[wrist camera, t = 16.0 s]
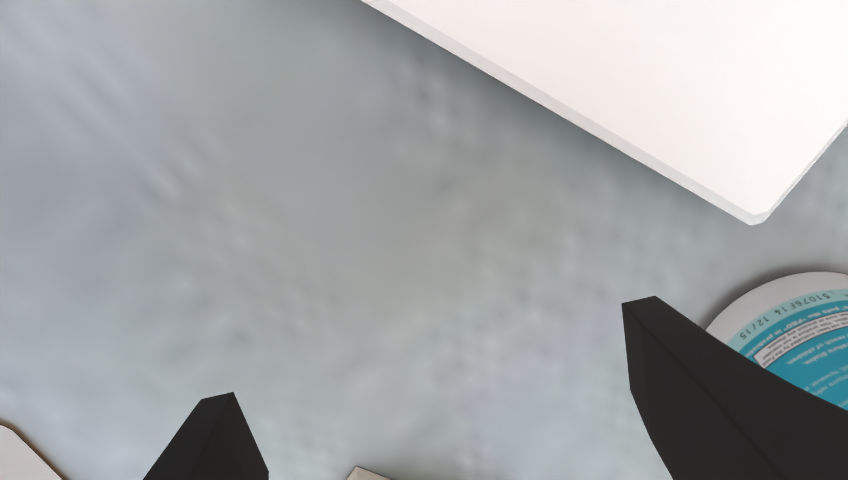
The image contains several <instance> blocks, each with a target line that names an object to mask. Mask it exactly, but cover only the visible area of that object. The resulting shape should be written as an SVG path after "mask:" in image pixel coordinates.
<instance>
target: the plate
mask: <svg viewBox="0 0 848 480" xmlns="http://www.w3.org/2000/svg"><path fill="white" fill-rule="evenodd" d="M361 1H363V2H365V3H367V4H368V5H370V6H372V7H374V8H375V9H377V10H379V11H380V12H382V13H384V14H386V15H387V16H389V17H391V18H393V19H394V20H396V21H398V22H399V23H401V24H403V25H405V26H406V27H408V28H410V29H411V30H413V31H415V32H417V33H418V34H420V35H422V36H424V37H425V38H427V39H429V40H430V41H432V42H434V43H436V44H437V45H439V46H441V47H443V48H444V49H446V50H448V51H449V52H451V53H453V54H455V55H456V56H458V57H460V58H462V59H463V60H465V61H467V62H468V63H470V64H472V65H474V66H475V67H477V68H479V69H481V70H482V71H484V72H486V73H487V74H489V75H491V76H493V77H494V78H496V79H498V80H499V81H501V82H503V83H505V84H506V85H508V86H510V87H512V88H513V89H515V90H517V91H518V92H520V93H522V94H524V95H525V96H527V97H529V98H531V99H532V100H534V101H536V102H537V103H539V104H541V105H543V106H544V107H546V108H548V109H550V110H551V111H553V112H555V113H556V114H558V115H560V116H562V117H563V118H565V119H567V120H568V121H570V122H572V123H574V124H575V125H577V126H579V127H581V128H582V129H584V130H586V131H587V132H589V133H591V134H593V135H594V136H596V137H598V138H600V139H601V140H603V141H605V142H606V143H608V144H610V145H612V146H613V147H615V148H617V149H619V150H620V151H622V152H624V153H625V154H627V155H629V156H631V157H632V158H634V159H636V160H638V161H639V162H641V163H643V164H644V165H646V166H648V167H650V168H651V169H653V170H655V171H656V172H658V173H660V174H662V175H663V176H665V177H667V178H669V179H670V180H672V181H674V182H675V183H677V184H679V185H681V186H682V187H684V188H686V189H688V190H689V191H691V192H693V193H694V194H696V195H698V196H700V197H701V198H703V199H705V200H707V201H708V202H710V203H712V204H713V205H715V206H717V207H719V208H720V209H722V210H724V211H725V212H727V213H729V214H731V215H732V216H734V217H736V218H738V219H739V220H741V221H743V222H744V223H746V224H748V225H750V226H751V225H755V224H759V223H763V222H764V221H765V220H766V219H767V218H768V217H769V216H770V214H771V213H772V212H773V211H774V210H775V209H776V207H777V206H778V205H779V204H780V203H781V202H782V200H783V199H784V198H785V197H786V196H787V195H788V193H789V192H790V191H791V190H792V189H793V188H794V186H795V185H796V184H797V183H798V182H799V181H800V179H801V178H802V177H803V176H804V175H805V174H806V172H807V171H808V170H809V169H810V168H811V167H812V165H813V164H814V163H815V162H816V161H817V160H818V158H819V157H820V156H821V155H822V154H823V153H824V151H825V150H826V149H827V148H828V147H829V146H830V144H831V143H832V142H833V141H834V140H835V139H836V137H837V136H838V135H839V134H840V133H841V132H842V130H843V129H844V128H845V127H846V126H847V125H848V0H361Z"/></svg>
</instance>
